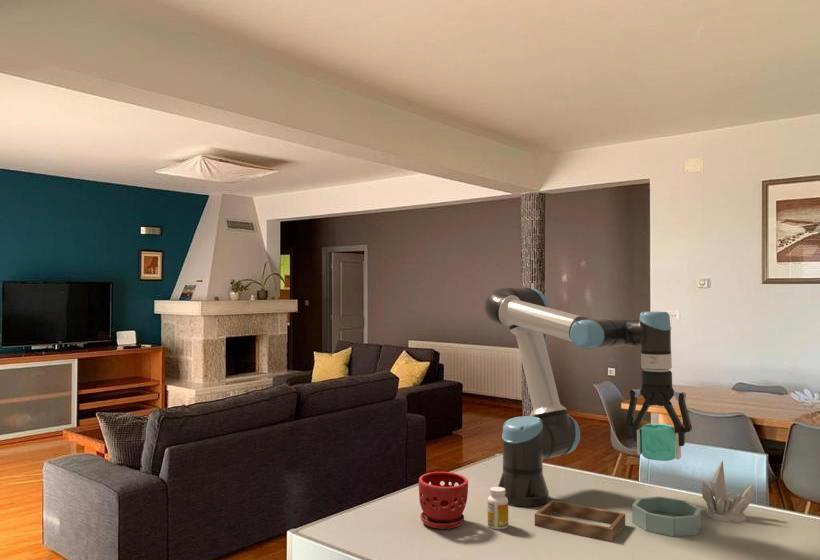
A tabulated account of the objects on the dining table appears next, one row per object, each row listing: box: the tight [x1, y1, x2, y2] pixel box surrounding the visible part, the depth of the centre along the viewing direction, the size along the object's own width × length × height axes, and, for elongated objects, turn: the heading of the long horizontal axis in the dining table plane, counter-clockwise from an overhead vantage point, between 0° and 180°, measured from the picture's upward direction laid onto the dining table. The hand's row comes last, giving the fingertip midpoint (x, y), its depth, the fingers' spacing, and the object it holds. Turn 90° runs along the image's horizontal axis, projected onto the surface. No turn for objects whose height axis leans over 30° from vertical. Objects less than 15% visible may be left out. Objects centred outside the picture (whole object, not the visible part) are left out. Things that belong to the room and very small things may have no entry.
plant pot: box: [418, 471, 469, 530], centre depth 167 cm, size 13×13×12 cm
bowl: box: [631, 495, 702, 537], centre depth 166 cm, size 16×16×4 cm
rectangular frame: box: [534, 499, 626, 542], centre depth 165 cm, size 20×13×3 cm, turn 57°
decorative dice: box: [641, 423, 676, 462], centre depth 166 cm, size 8×8×8 cm
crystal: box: [701, 460, 755, 523], centre depth 173 cm, size 10×13×15 cm
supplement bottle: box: [487, 486, 509, 530], centre depth 165 cm, size 5×5×10 cm
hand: (658, 455), depth 166 cm, fingers closed on decorative dice, 9 cm apart
